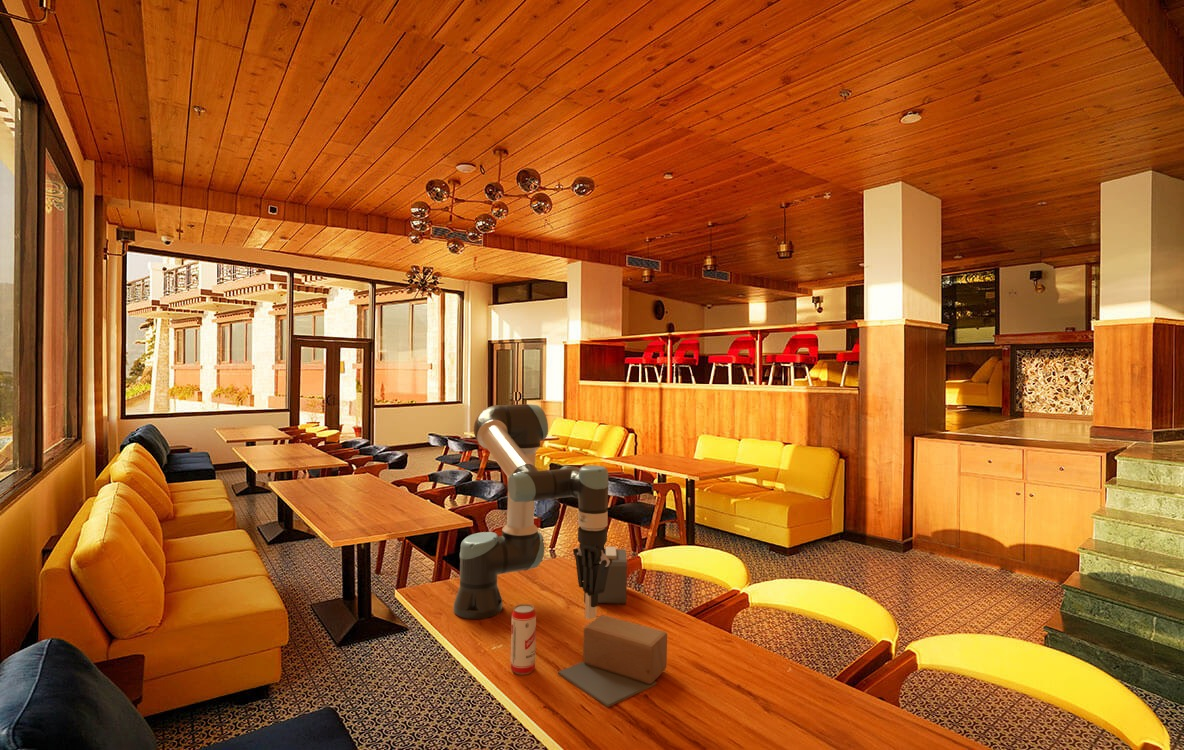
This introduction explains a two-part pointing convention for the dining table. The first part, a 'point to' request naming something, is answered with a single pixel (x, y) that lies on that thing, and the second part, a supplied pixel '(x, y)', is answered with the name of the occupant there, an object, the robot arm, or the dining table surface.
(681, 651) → the dining table surface
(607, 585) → the alarm clock
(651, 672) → the wooden block
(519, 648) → the beer can
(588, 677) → the mat
